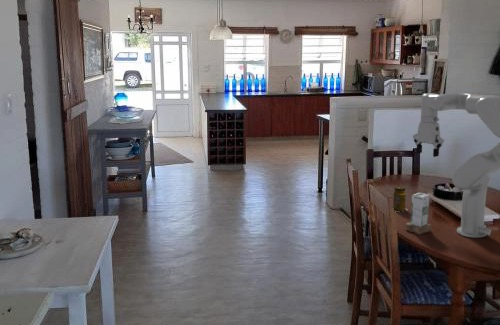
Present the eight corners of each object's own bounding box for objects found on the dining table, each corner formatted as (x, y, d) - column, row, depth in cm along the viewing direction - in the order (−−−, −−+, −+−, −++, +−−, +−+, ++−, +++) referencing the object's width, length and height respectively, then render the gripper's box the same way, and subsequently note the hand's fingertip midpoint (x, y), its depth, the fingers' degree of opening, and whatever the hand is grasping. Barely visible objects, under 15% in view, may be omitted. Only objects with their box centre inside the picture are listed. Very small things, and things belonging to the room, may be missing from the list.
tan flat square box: (430, 230, 237) (430, 224, 236) (419, 234, 232) (419, 228, 232) (416, 226, 243) (416, 220, 242) (405, 229, 239) (405, 223, 238)
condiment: (408, 209, 267) (409, 187, 264) (397, 213, 262) (398, 190, 260) (397, 206, 273) (398, 184, 270) (386, 209, 268) (387, 187, 265)
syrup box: (416, 221, 241) (418, 191, 237) (428, 224, 236) (429, 194, 233) (410, 224, 237) (411, 194, 234) (421, 227, 233) (423, 197, 229)
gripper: (449, 120, 237) (447, 156, 241) (419, 117, 251) (417, 150, 255) (439, 122, 233) (437, 158, 237) (409, 118, 247) (407, 153, 251)
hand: (427, 154), depth 246 cm, fingers open, 9 cm apart
